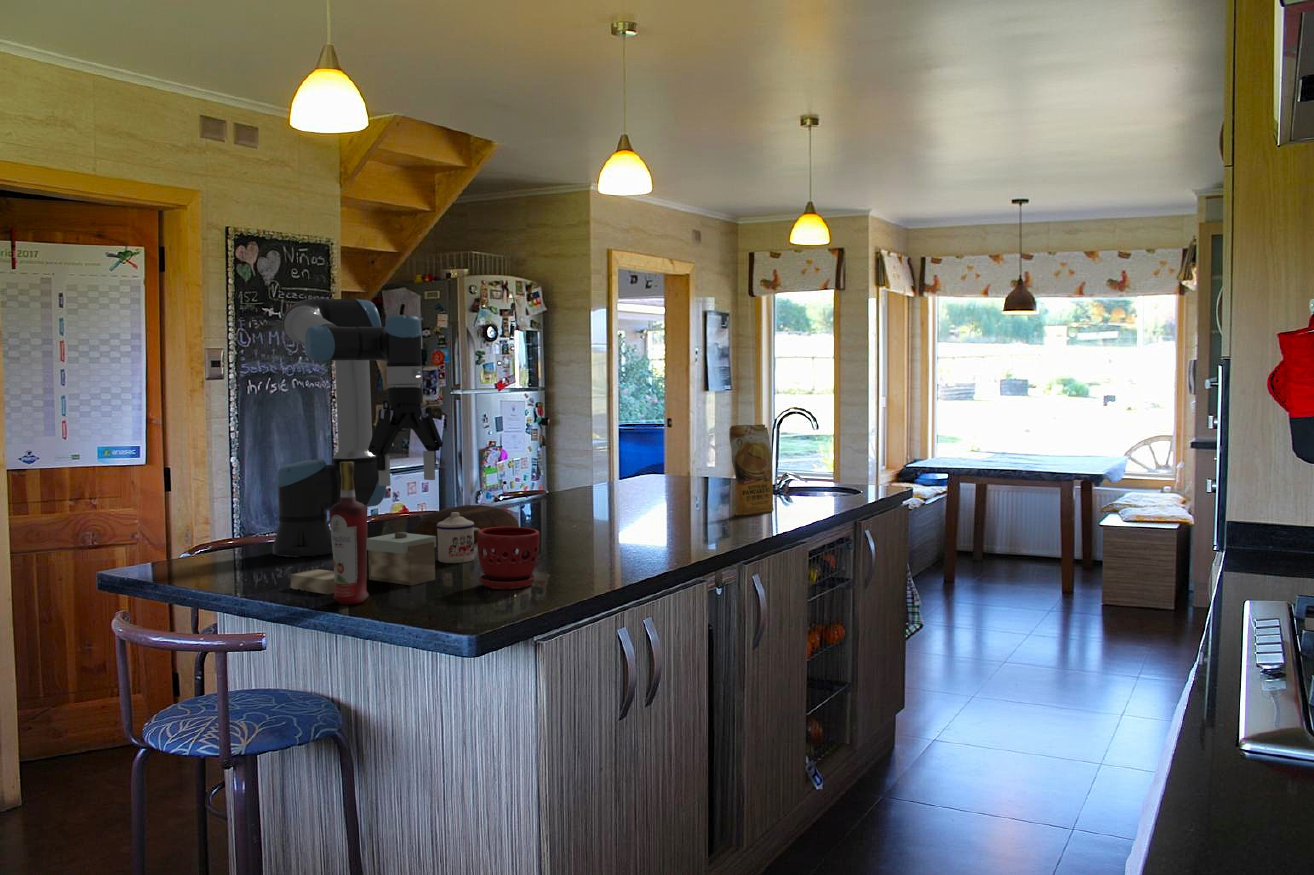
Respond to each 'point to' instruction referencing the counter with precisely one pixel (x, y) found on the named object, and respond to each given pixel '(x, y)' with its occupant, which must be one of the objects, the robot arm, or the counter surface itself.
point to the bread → (474, 513)
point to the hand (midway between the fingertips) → (407, 482)
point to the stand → (314, 581)
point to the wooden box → (404, 565)
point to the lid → (397, 542)
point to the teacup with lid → (456, 539)
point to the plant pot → (508, 556)
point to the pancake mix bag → (752, 468)
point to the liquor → (349, 541)
